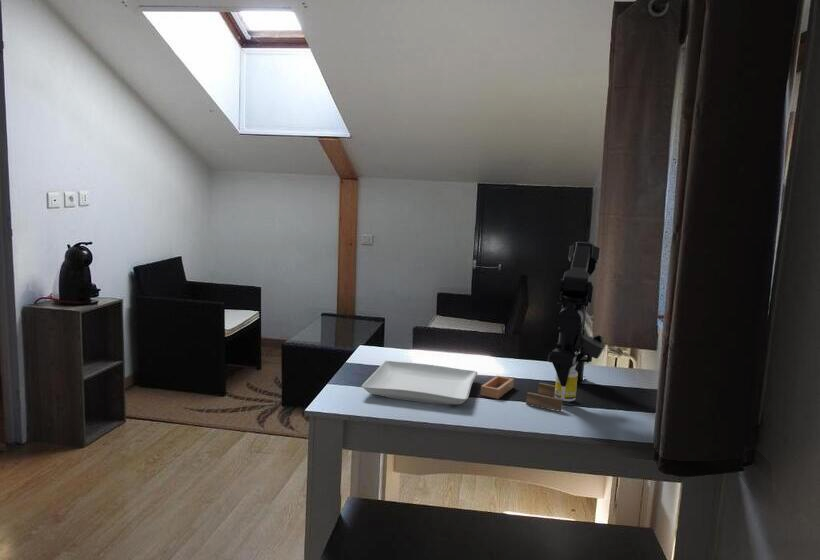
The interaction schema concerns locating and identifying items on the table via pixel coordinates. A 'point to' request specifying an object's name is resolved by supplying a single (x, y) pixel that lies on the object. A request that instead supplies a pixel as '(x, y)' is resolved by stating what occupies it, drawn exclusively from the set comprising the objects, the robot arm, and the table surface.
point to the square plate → (421, 382)
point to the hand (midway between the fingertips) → (566, 383)
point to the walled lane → (545, 397)
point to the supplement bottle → (567, 386)
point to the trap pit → (497, 387)
